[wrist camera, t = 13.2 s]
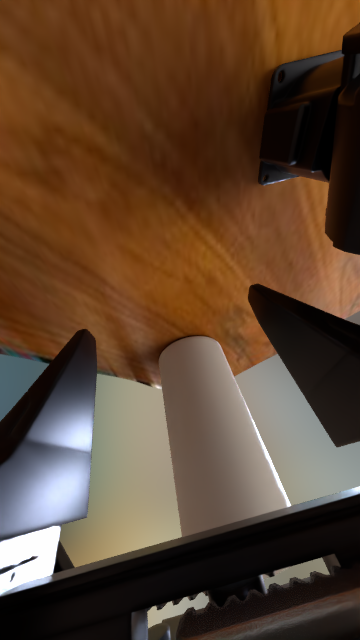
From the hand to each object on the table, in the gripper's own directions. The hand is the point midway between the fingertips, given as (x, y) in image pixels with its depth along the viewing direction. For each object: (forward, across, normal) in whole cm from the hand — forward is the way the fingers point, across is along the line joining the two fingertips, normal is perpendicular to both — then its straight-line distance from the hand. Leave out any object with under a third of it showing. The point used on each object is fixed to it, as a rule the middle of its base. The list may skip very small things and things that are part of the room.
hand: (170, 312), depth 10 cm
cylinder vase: (+12, -1, +24) cm, 27 cm away
